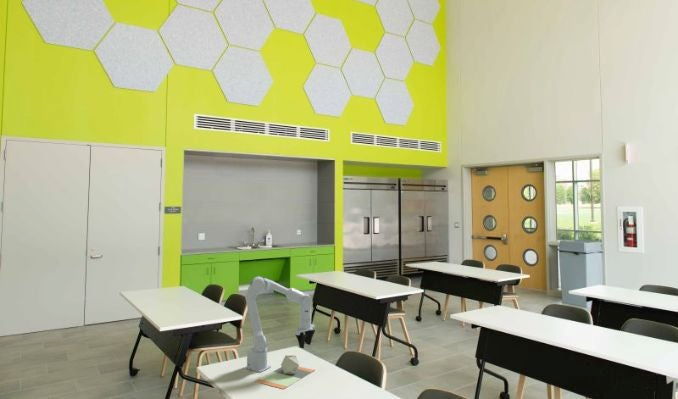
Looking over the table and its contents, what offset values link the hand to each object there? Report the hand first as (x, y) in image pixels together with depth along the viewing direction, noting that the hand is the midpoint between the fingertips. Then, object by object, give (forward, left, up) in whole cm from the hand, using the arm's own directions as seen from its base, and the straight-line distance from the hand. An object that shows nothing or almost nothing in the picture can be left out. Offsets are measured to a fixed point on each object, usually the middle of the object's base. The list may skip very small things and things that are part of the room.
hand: (305, 346), depth 206 cm
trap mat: (0, -16, -9) cm, 19 cm away
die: (0, -12, -9) cm, 16 cm away
